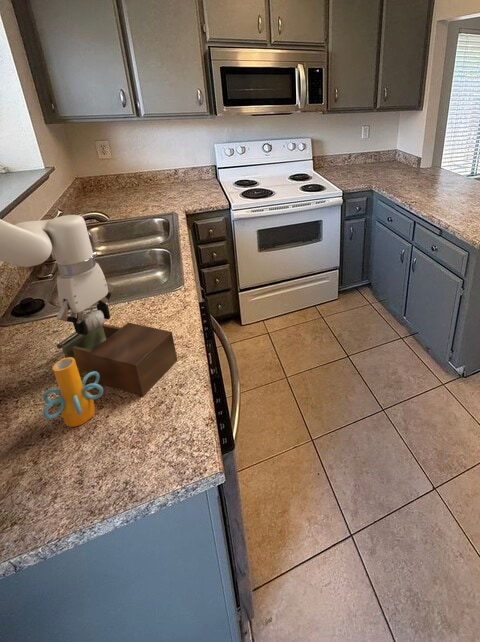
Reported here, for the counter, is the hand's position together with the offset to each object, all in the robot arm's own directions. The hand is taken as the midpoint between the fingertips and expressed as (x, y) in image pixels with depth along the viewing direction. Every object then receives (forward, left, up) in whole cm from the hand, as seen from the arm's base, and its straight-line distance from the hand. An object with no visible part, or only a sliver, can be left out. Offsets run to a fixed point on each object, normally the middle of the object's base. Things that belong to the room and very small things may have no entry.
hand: (94, 325), depth 94 cm
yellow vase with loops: (+9, -15, -13) cm, 21 cm away
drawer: (-2, 0, -12) cm, 12 cm away
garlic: (0, 0, -1) cm, 1 cm away
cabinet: (+12, 0, -12) cm, 17 cm away
